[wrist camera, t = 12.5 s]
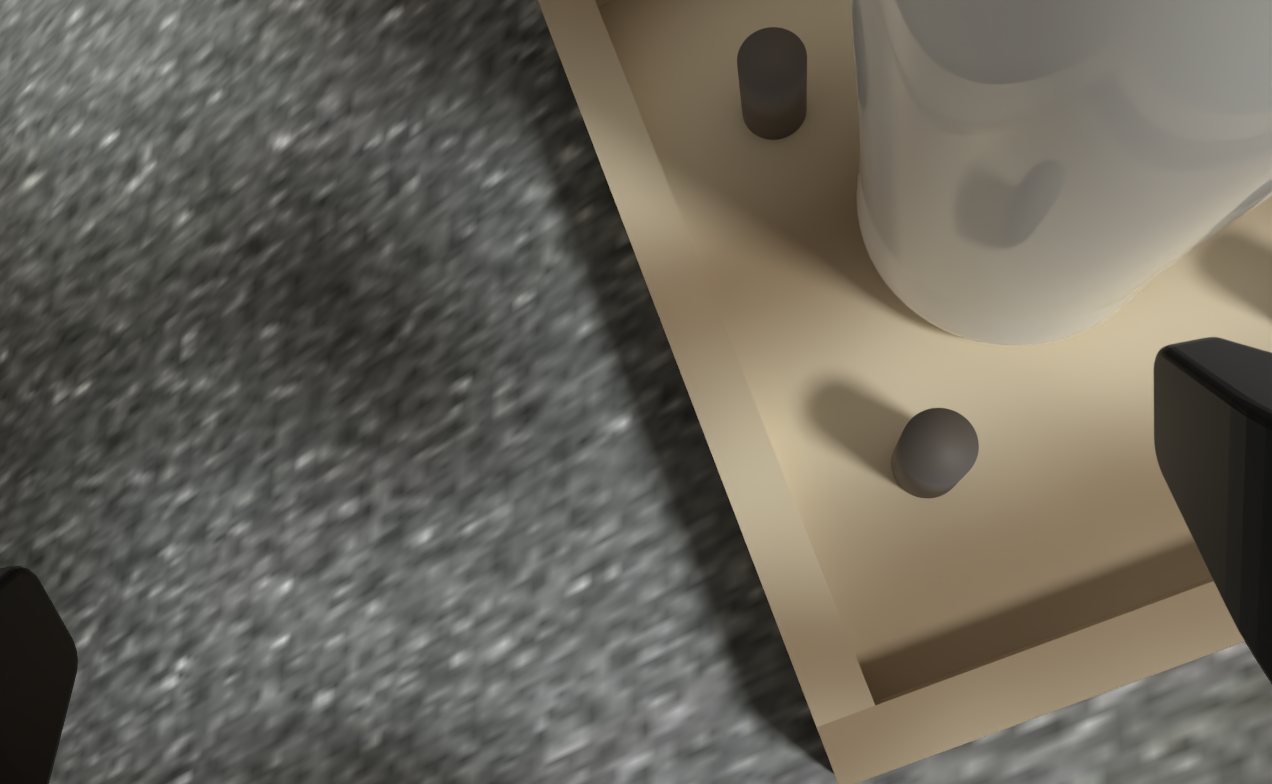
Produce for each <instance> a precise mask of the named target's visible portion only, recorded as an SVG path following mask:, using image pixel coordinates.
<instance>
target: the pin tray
mask: <svg viewBox="0 0 1272 784" xmlns="http://www.w3.org/2000/svg"><path fill="white" fill-rule="evenodd" d="M538 2H539V5H540V8H541V10H542V13H543V15H544V18H545V21H546V23H547V26H548V28H549V31H550V34H551V36H552V39H553V41H554V44H555V47H556V49H557V52H558V55H559V57H560V60H561V62H562V65H563V68H564V70H565V73H566V75H567V78H568V81H569V83H570V86H571V88H572V91H573V94H574V96H575V99H576V101H577V104H578V107H579V109H580V112H581V114H582V117H583V120H584V122H585V125H586V128H587V130H588V133H589V135H590V138H591V141H592V143H593V146H594V148H595V151H596V154H597V156H598V159H599V161H600V164H601V167H602V169H603V172H604V174H605V177H606V180H607V182H608V185H609V187H610V190H611V193H612V195H613V198H614V201H615V203H616V206H617V208H618V211H619V214H620V216H621V219H622V221H623V224H624V227H625V229H626V232H627V234H628V237H629V240H630V242H631V245H632V247H633V250H634V253H635V255H636V258H637V260H638V263H639V266H640V268H641V271H642V273H643V276H644V279H645V281H646V284H647V287H648V289H649V292H650V294H651V297H652V300H653V302H654V305H655V307H656V310H657V313H658V315H659V318H660V320H661V323H662V326H663V328H664V331H665V333H666V336H667V339H668V341H669V344H670V346H671V349H672V352H673V354H674V357H675V360H676V362H677V365H678V367H679V370H680V373H681V375H682V378H683V380H684V383H685V386H686V388H687V391H688V393H689V396H690V399H691V401H692V404H693V406H694V409H695V412H696V414H697V417H698V419H699V422H700V425H701V427H702V430H703V433H704V435H705V438H706V440H707V443H708V446H709V448H710V451H711V453H712V456H713V459H714V461H715V464H716V466H717V469H718V472H719V474H720V477H721V479H722V482H723V485H724V487H725V490H726V492H727V495H728V498H729V500H730V503H731V506H732V508H733V511H734V513H735V516H736V519H737V521H738V524H739V526H740V529H741V532H742V534H743V537H744V539H745V542H746V545H747V547H748V550H749V552H750V555H751V558H752V560H753V563H754V565H755V568H756V571H757V573H758V576H759V579H760V581H761V584H762V586H763V589H764V592H765V594H766V597H767V599H768V602H769V605H770V607H771V610H772V612H773V615H774V618H775V620H776V623H777V625H778V628H779V631H780V633H781V636H782V638H783V641H784V644H785V646H786V649H787V652H788V654H789V657H790V659H791V662H792V665H793V667H794V670H795V672H796V675H797V678H798V680H799V683H800V685H801V688H802V691H803V693H804V696H805V698H806V701H807V704H808V706H809V709H810V711H811V714H812V717H813V719H814V722H815V725H816V727H817V730H818V732H819V735H820V738H821V740H822V743H823V745H824V748H825V751H826V753H827V756H828V758H829V761H830V764H831V766H832V769H833V771H834V774H835V777H836V779H837V782H838V784H856V783H858V782H861V781H864V780H867V779H869V778H872V777H875V776H878V775H880V774H883V773H886V772H889V771H891V770H894V769H897V768H900V767H902V766H905V765H908V764H911V763H913V762H916V761H919V760H922V759H924V758H927V757H930V756H932V755H935V754H938V753H941V752H943V751H946V750H949V749H952V748H954V747H957V746H960V745H963V744H965V743H968V742H971V741H974V740H976V739H979V738H982V737H985V736H987V735H990V734H993V733H995V732H998V731H1001V730H1004V729H1006V728H1009V727H1012V726H1015V725H1017V724H1020V723H1023V722H1026V721H1028V720H1031V719H1034V718H1037V717H1039V716H1042V715H1045V714H1048V713H1050V712H1053V711H1056V710H1059V709H1061V708H1064V707H1067V706H1069V705H1072V704H1075V703H1078V702H1080V701H1083V700H1086V699H1089V698H1091V697H1094V696H1097V695H1100V694H1102V693H1105V692H1108V691H1111V690H1113V689H1116V688H1119V687H1122V686H1124V685H1127V684H1130V683H1133V682H1135V681H1138V680H1141V679H1143V678H1146V677H1149V676H1152V675H1154V674H1157V673H1160V672H1163V671H1165V670H1168V669H1171V668H1174V667H1176V666H1179V665H1182V664H1185V663H1187V662H1190V661H1193V660H1196V659H1198V658H1201V657H1204V656H1206V655H1209V654H1212V653H1215V652H1217V651H1220V650H1223V649H1226V648H1228V647H1231V646H1234V645H1237V644H1239V643H1242V642H1245V641H1244V639H1243V637H1242V636H1241V634H1240V633H1239V631H1238V629H1237V627H1236V625H1235V623H1234V621H1233V619H1232V617H1231V615H1230V613H1229V611H1228V609H1227V607H1226V606H1225V603H1224V601H1223V599H1222V597H1221V595H1220V593H1219V591H1218V589H1217V587H1216V585H1215V583H1214V581H1213V579H1212V577H1211V574H1210V572H1209V570H1208V568H1207V566H1206V564H1205V562H1204V560H1203V558H1202V556H1201V554H1200V552H1199V550H1198V547H1197V545H1196V543H1195V541H1194V539H1193V537H1192V535H1191V533H1190V531H1189V529H1188V527H1187V525H1186V523H1185V521H1184V518H1183V516H1182V514H1181V512H1180V510H1179V508H1178V506H1177V504H1176V502H1175V500H1174V498H1173V496H1172V494H1171V491H1170V489H1169V487H1168V485H1167V483H1166V481H1165V479H1164V477H1163V475H1162V472H1161V470H1160V467H1159V464H1158V461H1157V457H1156V453H1155V446H1154V375H1153V371H1154V362H1155V358H1156V355H1157V353H1158V352H1159V350H1160V349H1161V348H1162V347H1164V346H1167V345H1170V344H1175V343H1180V342H1185V341H1191V340H1196V339H1201V338H1206V337H1219V338H1223V339H1226V340H1229V341H1233V342H1236V343H1240V344H1243V345H1247V346H1250V347H1254V348H1257V349H1261V350H1264V351H1268V352H1271V353H1272V197H1271V198H1270V199H1268V200H1267V201H1265V202H1264V203H1262V204H1261V205H1259V206H1258V207H1256V208H1255V209H1253V210H1252V211H1251V212H1249V213H1248V214H1246V215H1245V216H1243V217H1242V218H1240V219H1239V220H1237V221H1236V222H1234V223H1233V224H1231V225H1230V226H1228V227H1227V228H1226V229H1224V230H1223V231H1221V232H1220V233H1218V234H1217V235H1215V236H1214V237H1212V238H1211V239H1210V240H1208V241H1207V242H1205V243H1204V244H1202V245H1201V246H1199V247H1198V248H1196V249H1195V250H1194V251H1192V252H1191V253H1189V254H1188V255H1186V256H1185V257H1183V258H1182V259H1181V260H1179V261H1178V262H1176V263H1175V264H1174V265H1172V266H1171V267H1169V268H1168V269H1166V270H1165V271H1164V272H1162V273H1161V274H1159V275H1158V276H1157V277H1155V278H1154V279H1152V280H1151V281H1150V282H1149V283H1148V284H1147V285H1146V287H1145V288H1144V289H1143V290H1142V291H1141V292H1140V293H1139V294H1137V295H1136V296H1135V297H1134V298H1133V299H1132V300H1131V301H1130V302H1129V303H1128V304H1127V305H1126V306H1124V307H1123V308H1122V309H1121V310H1119V311H1118V312H1117V313H1115V314H1114V315H1113V316H1111V317H1110V318H1108V319H1106V320H1105V321H1103V322H1101V323H1100V324H1098V325H1096V326H1094V327H1092V328H1090V329H1088V330H1086V331H1084V332H1082V333H1079V334H1076V335H1074V336H1071V337H1068V338H1065V339H1061V340H1058V341H1054V342H1049V343H1044V344H1038V345H1027V346H1003V345H994V344H987V343H982V342H977V341H972V340H969V339H966V338H962V337H959V336H956V335H954V334H951V333H949V332H947V331H944V330H942V329H940V328H938V327H936V326H935V325H933V324H931V323H929V322H928V321H926V320H925V319H923V318H921V317H920V316H918V315H917V314H916V313H915V312H913V311H912V310H911V309H910V308H908V307H907V306H906V305H905V304H904V303H903V302H902V301H901V300H900V299H899V298H898V297H896V296H895V294H894V293H893V292H892V291H891V290H890V289H889V287H888V286H887V285H886V284H885V282H884V281H883V279H882V278H881V276H880V275H879V274H878V272H877V270H876V268H875V267H874V265H873V263H872V261H871V259H870V257H869V255H868V252H867V250H866V248H865V245H864V242H863V238H862V235H861V232H860V227H859V222H858V216H857V205H856V186H857V177H858V168H859V160H860V153H859V136H858V120H857V106H856V92H855V78H854V65H853V53H852V40H851V27H850V16H849V4H848V0H538Z"/></svg>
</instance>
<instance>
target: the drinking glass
mask: <svg viewBox="0 0 1272 784" xmlns="http://www.w3.org/2000/svg"><path fill="white" fill-rule="evenodd" d="M848 4H849V16H850V27H851V40H852V53H853V65H854V78H855V92H856V106H857V120H858V136H859V153H860V160H859V168H858V177H857V186H856V205H857V216H858V222H859V227H860V232H861V235H862V238H863V242H864V245H865V248H866V250H867V252H868V255H869V257H870V259H871V261H872V263H873V265H874V267H875V268H876V270H877V272H878V274H879V275H880V276H881V278H882V279H883V281H884V282H885V284H886V285H887V286H888V287H889V289H890V290H891V291H892V292H893V293H894V294H895V296H896V297H898V298H899V299H900V300H901V301H902V302H903V303H904V304H905V305H906V306H907V307H908V308H910V309H911V310H912V311H913V312H915V313H916V314H917V315H918V316H920V317H921V318H923V319H925V320H926V321H928V322H929V323H931V324H933V325H935V326H936V327H938V328H940V329H942V330H944V331H947V332H949V333H951V334H954V335H956V336H959V337H962V338H966V339H969V340H972V341H977V342H982V343H987V344H994V345H1003V346H1027V345H1038V344H1044V343H1049V342H1054V341H1058V340H1061V339H1065V338H1068V337H1071V336H1074V335H1076V334H1079V333H1082V332H1084V331H1086V330H1088V329H1090V328H1092V327H1094V326H1096V325H1098V324H1100V323H1101V322H1103V321H1105V320H1106V319H1108V318H1110V317H1111V316H1113V315H1114V314H1115V313H1117V312H1118V311H1119V310H1121V309H1122V308H1123V307H1124V306H1126V305H1127V304H1128V303H1129V302H1130V301H1131V300H1132V299H1133V298H1134V297H1135V296H1136V295H1137V294H1139V293H1140V292H1141V291H1142V290H1143V289H1144V288H1145V287H1146V285H1147V284H1148V283H1149V282H1150V281H1151V280H1152V279H1154V278H1155V277H1157V276H1158V275H1159V274H1161V273H1162V272H1164V271H1165V270H1166V269H1168V268H1169V267H1171V266H1172V265H1174V264H1175V263H1176V262H1178V261H1179V260H1181V259H1182V258H1183V257H1185V256H1186V255H1188V254H1189V253H1191V252H1192V251H1194V250H1195V249H1196V248H1198V247H1199V246H1201V245H1202V244H1204V243H1205V242H1207V241H1208V240H1210V239H1211V238H1212V237H1214V236H1215V235H1217V234H1218V233H1220V232H1221V231H1223V230H1224V229H1226V228H1227V227H1228V226H1230V225H1231V224H1233V223H1234V222H1236V221H1237V220H1239V219H1240V218H1242V217H1243V216H1245V215H1246V214H1248V213H1249V212H1251V211H1252V210H1253V209H1255V208H1256V207H1258V206H1259V205H1261V204H1262V203H1264V202H1265V201H1267V200H1268V199H1270V198H1271V197H1272V0H848Z"/></svg>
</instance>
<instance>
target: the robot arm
mask: <svg viewBox="0 0 1272 784" xmlns="http://www.w3.org/2000/svg"><path fill="white" fill-rule="evenodd" d="M1153 375H1154V446H1155V453H1156V457H1157V461H1158V464H1159V467H1160V470H1161V472H1162V475H1163V477H1164V479H1165V481H1166V483H1167V485H1168V487H1169V489H1170V491H1171V494H1172V496H1173V498H1174V500H1175V502H1176V504H1177V506H1178V508H1179V510H1180V512H1181V514H1182V516H1183V518H1184V521H1185V523H1186V525H1187V527H1188V529H1189V531H1190V533H1191V535H1192V537H1193V539H1194V541H1195V543H1196V545H1197V547H1198V550H1199V552H1200V554H1201V556H1202V558H1203V560H1204V562H1205V564H1206V566H1207V568H1208V570H1209V572H1210V574H1211V577H1212V579H1213V581H1214V583H1215V585H1216V587H1217V589H1218V591H1219V593H1220V595H1221V597H1222V599H1223V601H1224V603H1225V606H1226V607H1227V609H1228V611H1229V613H1230V615H1231V617H1232V619H1233V621H1234V623H1235V625H1236V627H1237V629H1238V631H1239V633H1240V634H1241V636H1242V637H1243V639H1244V641H1245V642H1246V644H1247V646H1248V647H1249V649H1250V651H1251V652H1252V654H1253V656H1254V657H1255V659H1256V660H1257V662H1258V664H1259V665H1260V667H1261V668H1262V670H1263V671H1264V673H1265V674H1266V676H1267V677H1268V679H1269V680H1270V682H1271V684H1272V353H1271V352H1268V351H1264V350H1261V349H1257V348H1254V347H1250V346H1247V345H1243V344H1240V343H1236V342H1233V341H1229V340H1226V339H1223V338H1219V337H1206V338H1201V339H1196V340H1191V341H1185V342H1180V343H1175V344H1170V345H1167V346H1164V347H1162V348H1161V349H1160V350H1159V352H1158V353H1157V355H1156V358H1155V362H1154V371H1153ZM77 663H78V658H77V651H76V647H75V644H74V641H73V639H72V637H71V635H70V633H69V632H68V630H67V628H66V626H65V625H64V623H63V621H62V619H61V618H60V616H59V614H58V612H57V610H56V609H55V607H54V605H53V603H52V602H51V600H50V598H49V596H48V595H47V593H46V591H45V589H44V588H43V586H42V584H41V582H40V581H39V579H38V578H37V576H36V575H35V574H34V573H33V572H31V571H30V570H29V569H27V568H24V567H21V566H11V567H6V568H0V784H49V780H50V777H51V773H52V769H53V765H54V761H55V757H56V753H57V749H58V745H59V741H60V737H61V733H62V729H63V725H64V721H65V717H66V713H67V709H68V705H69V701H70V698H71V694H72V690H73V686H74V682H75V678H76V674H77Z"/></svg>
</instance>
